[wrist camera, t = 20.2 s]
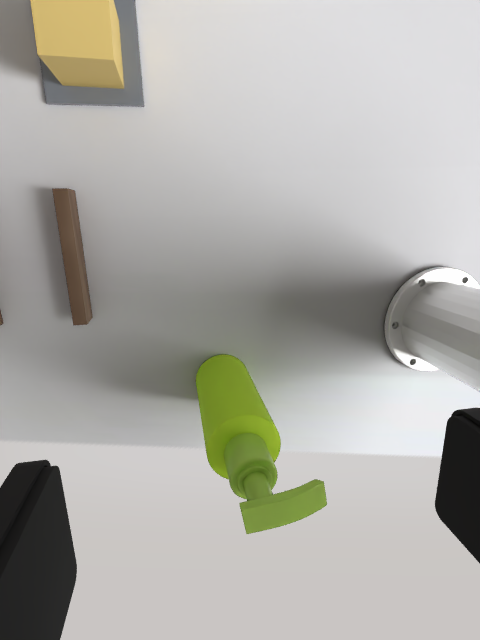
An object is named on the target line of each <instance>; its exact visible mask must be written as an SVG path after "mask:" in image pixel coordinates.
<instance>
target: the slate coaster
mask: <svg viewBox="0 0 480 640" xmlns="http://www.w3.org/2000/svg"><path fill="white" fill-rule="evenodd" d="M114 4H115V7H116V11H117V15H118V19H119V28H120V40H121V53H122V66H123V79H124V89H116V88H98V87H80V86H63V85H62V84H61V83H60V82H59V80H58V79H57V78H56V77H55V76H54V74H53V73H52V72H51V71H50V69H49V68H48V67H47V66H46V64H45V63H44V62H43V61H42V60H41V58H40V63H41V70H42V77H43V83H44V90H45V97H46V103H47V104H59V105H98V106H138V107H144V99H143V88H142V76H141V64H140V52H139V41H138V29H137V17H136V6H135V0H114Z"/></svg>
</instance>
